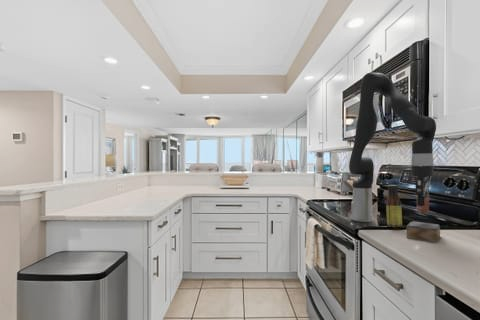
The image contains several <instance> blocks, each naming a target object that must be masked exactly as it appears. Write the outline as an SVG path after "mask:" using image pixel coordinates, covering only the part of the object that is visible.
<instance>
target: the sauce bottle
mask: <svg viewBox="0 0 480 320" xmlns="http://www.w3.org/2000/svg"><path fill="white" fill-rule="evenodd" d="M398 188H399V187H398V185H397V184H388V185H387V191H388V195H387V197H386V201H385V204H386V205H385V207H386V208H385V210H386V224H387V227H388V226H390V227H402V228H403V213H402V201H401V199H400V196H399V193H398V192H399V191H398ZM390 227H389V228H390Z"/></svg>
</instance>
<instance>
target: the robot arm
mask: <svg viewBox="0 0 480 320" xmlns="http://www.w3.org/2000/svg"><path fill="white" fill-rule="evenodd" d="M375 93H377V94H378V93H379V94H380V95H382V96H384V97H385V99H386V100H387V101H388V104H389V107H390V109H391V110H392V112H394V113H395V114H396V115H397V116H398V117H399V118H400V119H401V120H402V122H403V125H405V127H406V128H407V130H409V131H410V132H412V133H413V134H417V137H416V139H415V140H413V141H412V144H411V162H410V163H411V177H416V178H417V179H415V195H416V206H417V205H418V206H424V196H425V192H426V189H427V192H426V194H429V192H430V179H429V178H430V177H431V178H432V177H434V176H435V175H434V173H435V171H434V170H435V169H434V154H433V143H434V141H435V140H434V139H435V137H436V130H437V124H436V121H435V119H434V118H433V117H432V116H425V115H421V114H420V113H418V112H419V111H418V108H417V106H416V105H414V104H413V103H412V102H411V101H410V100H409V99H408V98H406V97H405V95H403V94H402V92H400V91H399V89H397V87H396V86H395V85H394V83H393V82H392V81H391V79H390V78H389V77H388V76H387V74H384V73H382V72H367V73H366V74H364V75H363V77H362V79H361V83H360V95H359V96H360V97H359V108H358V115H357V121H356V127H355V134H354V141H353V146H352V150H351V155H350V158H349V163H348V170H349V172H350V174H352V175H353V176H354V175H355V176H356V175H357V176H359V175H360V177H359V179H357V180H355V181H353V182H352V201H351V202H350V203H351V205H350V206H351V211H350V212H351V221H355V222H358V223H359V222H360V223H361V222H362V223H370V222H371V223H372V222H373V183H374V172H375V171H374V169H375V165H374V161H373V159H372V158H370V157H369V156H365V157H364V156H363V153H364V150H365V149H366V147H367V146H368V144H369V143H370V142H371V141H372V140H373V138H374V137H375V135H376V134H377V127H378V117H377V112H376V110H375V107H374V97H375ZM428 177H429V178H428ZM429 195H430V194H429Z"/></svg>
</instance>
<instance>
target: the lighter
mask: <svg viewBox="0 0 480 320" xmlns="http://www.w3.org/2000/svg"><path fill="white" fill-rule="evenodd" d="M426 192H427V189H426ZM426 192H425V196H424V206H418V205H417V204H416V209H415V210H416V212H417V213H419V214H423V215H430V214H431V212H430V194H426Z"/></svg>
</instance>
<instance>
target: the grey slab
mask: <svg viewBox="0 0 480 320" xmlns="http://www.w3.org/2000/svg"><path fill="white" fill-rule="evenodd" d="M405 228H406V230H405V231H406V235H405V236H406V238H408V239H414V240H420V241H424V242H432V243H438V241H439V239H440V238H441V226H440V224H437V223H429V222H420V221H410V222H409V223H408V224H407V225H406V227H405Z"/></svg>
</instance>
